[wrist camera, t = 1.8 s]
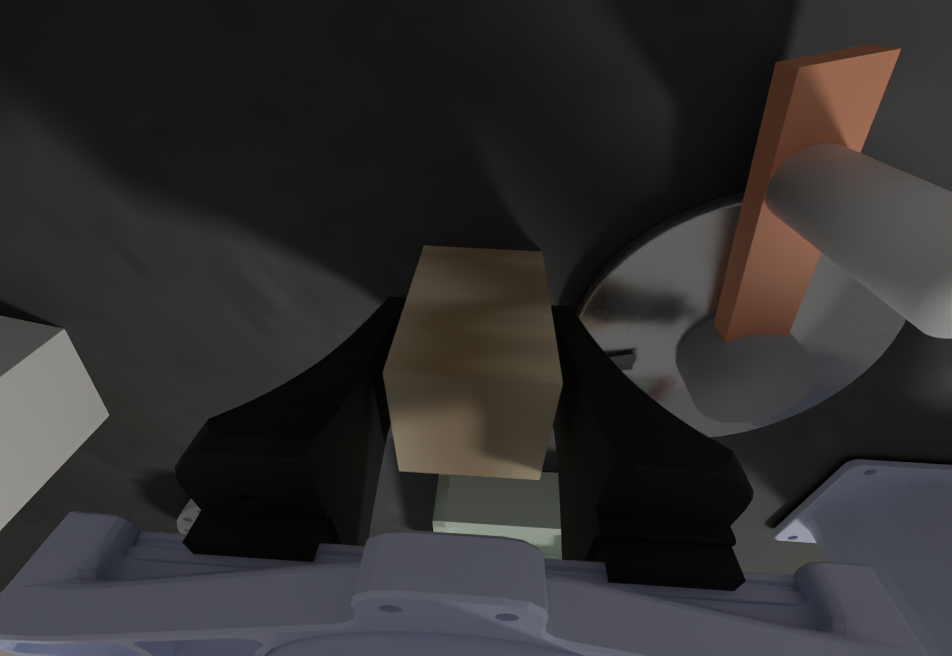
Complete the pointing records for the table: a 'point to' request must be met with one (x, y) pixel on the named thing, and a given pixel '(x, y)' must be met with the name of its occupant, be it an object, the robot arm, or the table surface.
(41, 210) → the table surface
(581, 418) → the robot arm
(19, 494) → the light grey cube
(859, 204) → the crank
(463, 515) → the tray
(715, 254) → the dial plate
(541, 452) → the brown block
